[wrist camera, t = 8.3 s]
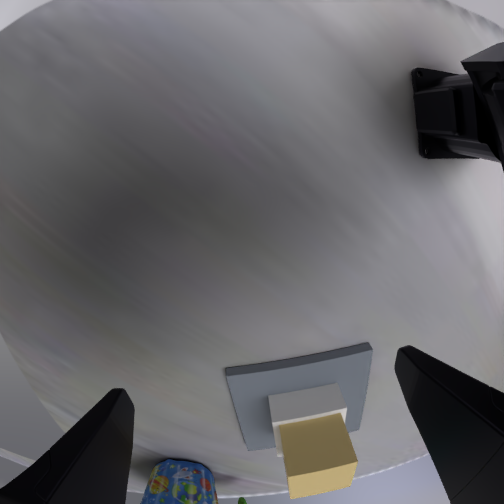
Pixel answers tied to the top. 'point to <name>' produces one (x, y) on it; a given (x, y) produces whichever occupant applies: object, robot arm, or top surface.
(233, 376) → the baseplate
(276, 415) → the white brick
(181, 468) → the snack cup
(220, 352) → the top surface
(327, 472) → the ochre brick
